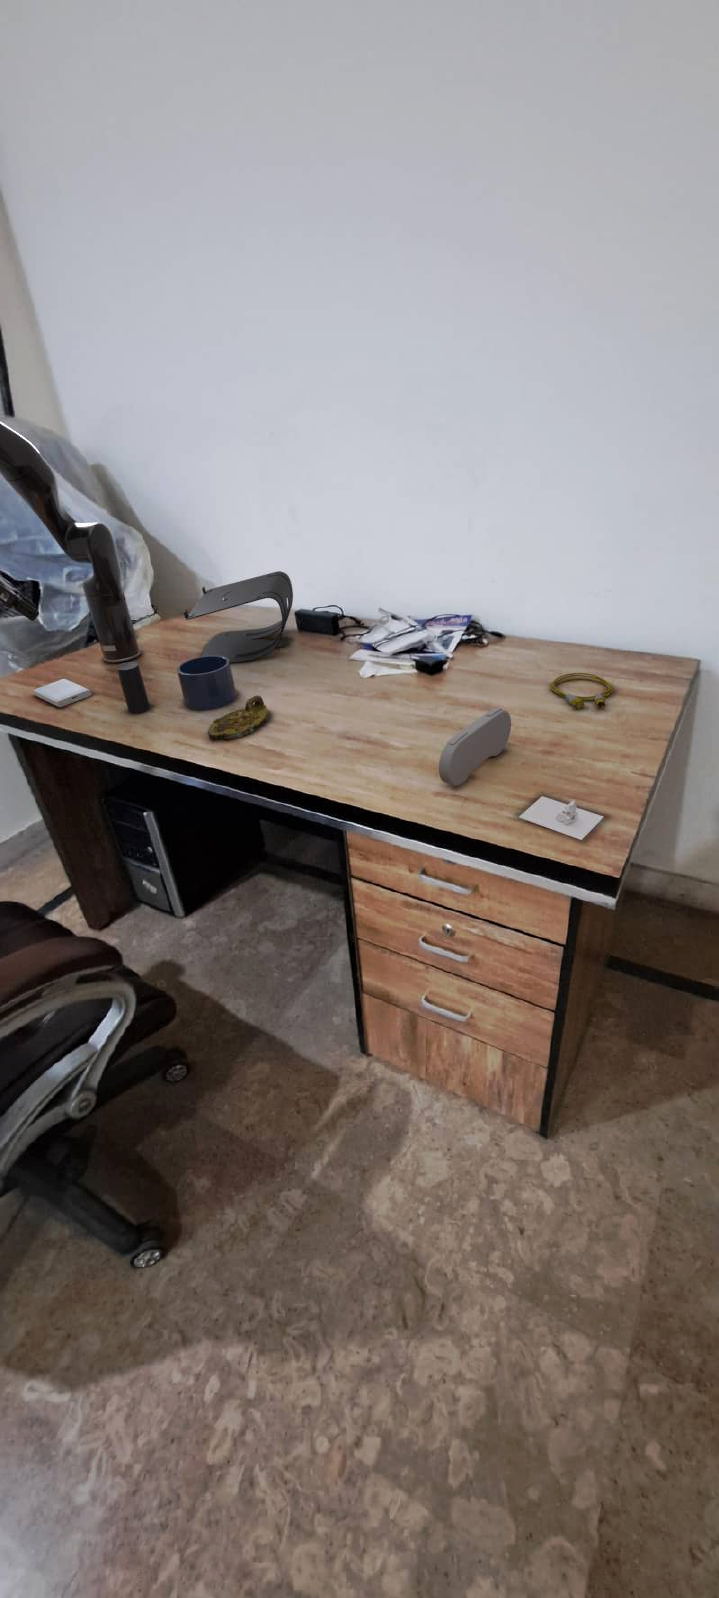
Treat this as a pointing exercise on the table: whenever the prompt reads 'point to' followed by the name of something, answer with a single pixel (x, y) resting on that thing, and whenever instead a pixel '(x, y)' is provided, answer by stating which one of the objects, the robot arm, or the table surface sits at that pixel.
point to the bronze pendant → (240, 720)
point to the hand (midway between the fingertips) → (35, 613)
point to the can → (206, 682)
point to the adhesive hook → (561, 817)
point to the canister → (133, 687)
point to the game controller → (474, 746)
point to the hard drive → (62, 692)
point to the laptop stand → (266, 586)
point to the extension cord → (575, 699)
